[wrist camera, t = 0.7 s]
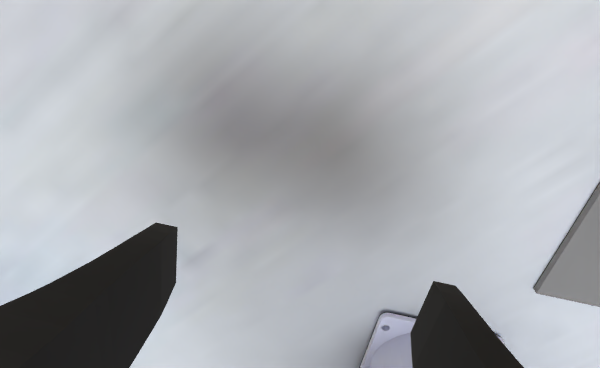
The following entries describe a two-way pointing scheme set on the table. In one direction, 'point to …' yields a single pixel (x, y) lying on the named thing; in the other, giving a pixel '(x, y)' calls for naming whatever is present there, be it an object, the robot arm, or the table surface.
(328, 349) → the table surface
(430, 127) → the table surface
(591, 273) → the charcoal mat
